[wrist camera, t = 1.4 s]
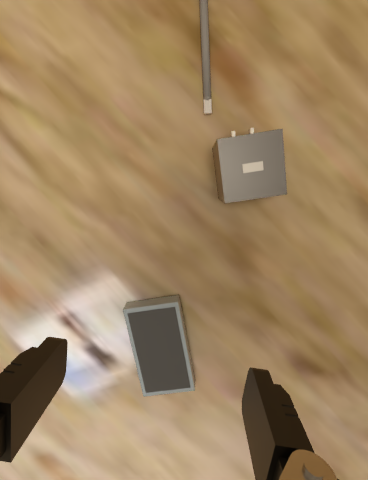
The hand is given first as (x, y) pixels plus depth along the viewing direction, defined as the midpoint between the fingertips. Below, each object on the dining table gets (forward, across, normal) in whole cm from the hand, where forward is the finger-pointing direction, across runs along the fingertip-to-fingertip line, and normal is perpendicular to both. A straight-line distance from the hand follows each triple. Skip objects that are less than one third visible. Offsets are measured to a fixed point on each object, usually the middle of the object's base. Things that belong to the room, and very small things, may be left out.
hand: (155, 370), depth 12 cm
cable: (+18, 0, -21) cm, 28 cm away
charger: (+18, -5, -10) cm, 21 cm away
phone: (+19, +1, +11) cm, 21 cm away
